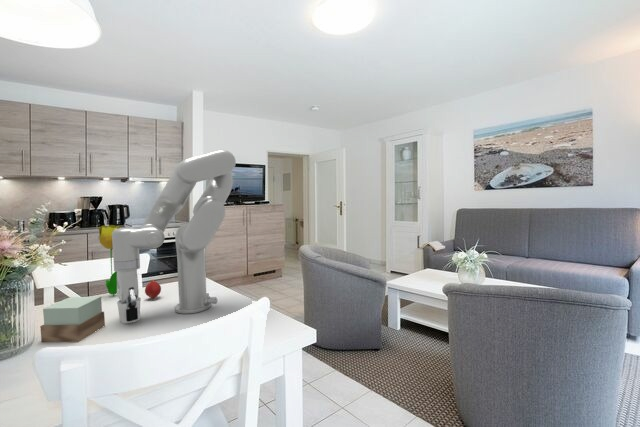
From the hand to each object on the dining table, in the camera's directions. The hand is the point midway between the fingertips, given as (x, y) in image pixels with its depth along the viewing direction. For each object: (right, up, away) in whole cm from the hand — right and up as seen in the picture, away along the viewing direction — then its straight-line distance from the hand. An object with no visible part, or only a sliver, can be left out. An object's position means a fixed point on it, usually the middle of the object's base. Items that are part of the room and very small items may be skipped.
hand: (129, 316), depth 107 cm
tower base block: (-11, -2, -10) cm, 15 cm away
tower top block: (-11, +3, -10) cm, 15 cm away
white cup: (0, -1, 0) cm, 1 cm away
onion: (-4, 0, +22) cm, 22 cm away
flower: (-23, 0, +26) cm, 35 cm away
